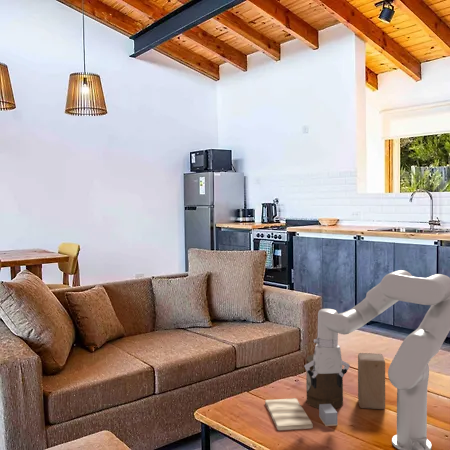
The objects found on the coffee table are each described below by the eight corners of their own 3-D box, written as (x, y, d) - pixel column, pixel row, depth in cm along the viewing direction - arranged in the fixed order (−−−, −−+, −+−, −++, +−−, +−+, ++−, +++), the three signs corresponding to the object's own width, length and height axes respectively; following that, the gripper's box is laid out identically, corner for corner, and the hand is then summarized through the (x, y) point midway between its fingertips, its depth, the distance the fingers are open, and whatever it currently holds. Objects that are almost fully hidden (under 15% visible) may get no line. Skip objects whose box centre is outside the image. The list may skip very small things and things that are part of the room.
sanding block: (337, 425, 185) (337, 412, 184) (325, 426, 184) (325, 413, 184) (330, 416, 193) (330, 403, 192) (319, 417, 192) (319, 404, 192)
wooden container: (314, 392, 216) (313, 342, 215) (347, 399, 208) (347, 347, 207) (301, 405, 203) (300, 352, 202) (336, 412, 196) (336, 357, 194)
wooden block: (385, 410, 197) (385, 360, 196) (359, 408, 199) (359, 359, 198) (382, 400, 207) (382, 353, 206) (357, 398, 209) (357, 351, 208)
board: (312, 428, 183) (312, 424, 183) (277, 430, 181) (277, 426, 181) (296, 401, 207) (296, 398, 206) (265, 403, 205) (265, 400, 205)
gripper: (307, 345, 182) (307, 391, 183) (353, 344, 184) (352, 389, 185) (302, 339, 190) (301, 383, 191) (346, 338, 192) (345, 381, 193)
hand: (326, 386), depth 188 cm, fingers open, 9 cm apart
